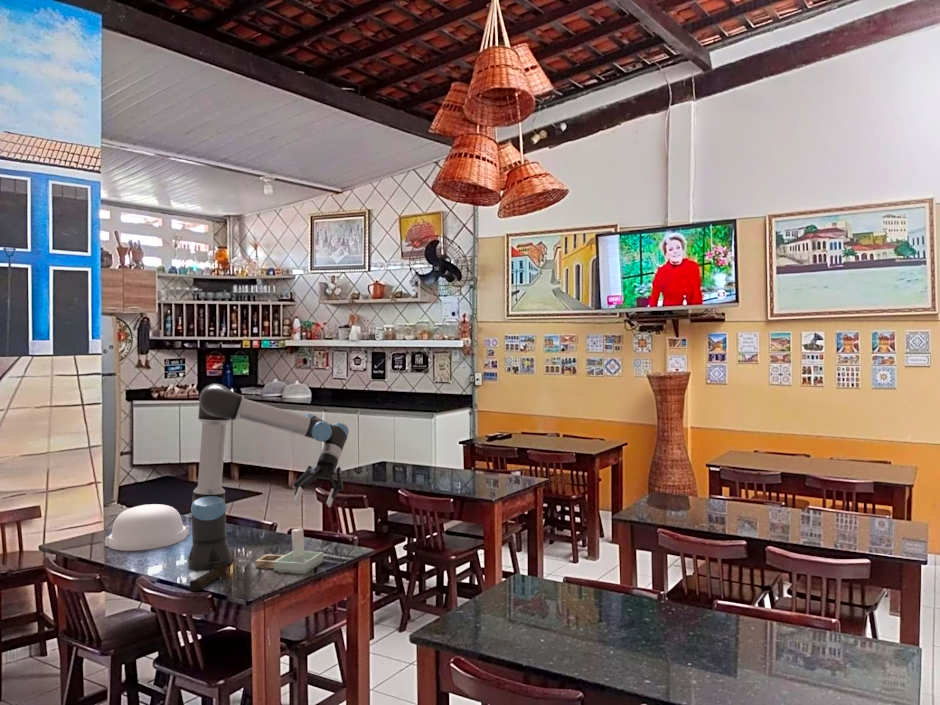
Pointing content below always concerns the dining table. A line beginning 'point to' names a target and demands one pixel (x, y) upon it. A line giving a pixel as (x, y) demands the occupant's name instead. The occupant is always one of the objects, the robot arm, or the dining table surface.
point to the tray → (293, 567)
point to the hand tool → (208, 577)
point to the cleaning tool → (298, 546)
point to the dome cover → (147, 528)
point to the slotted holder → (267, 561)
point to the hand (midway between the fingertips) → (311, 504)
